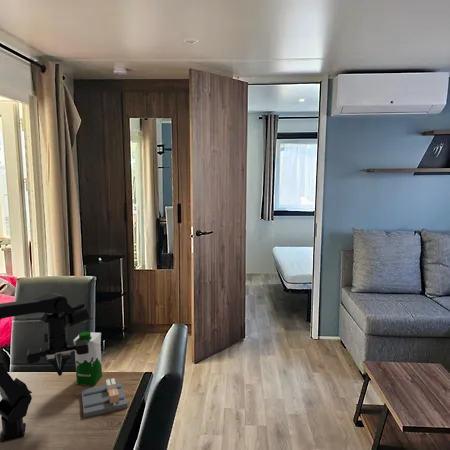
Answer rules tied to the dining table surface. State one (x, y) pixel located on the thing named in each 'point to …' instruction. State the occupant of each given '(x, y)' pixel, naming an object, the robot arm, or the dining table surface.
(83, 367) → the milk carton
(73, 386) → the dining table surface
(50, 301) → the robot arm
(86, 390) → the console
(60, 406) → the dining table surface
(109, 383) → the fader ivory
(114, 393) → the fader terracotta
